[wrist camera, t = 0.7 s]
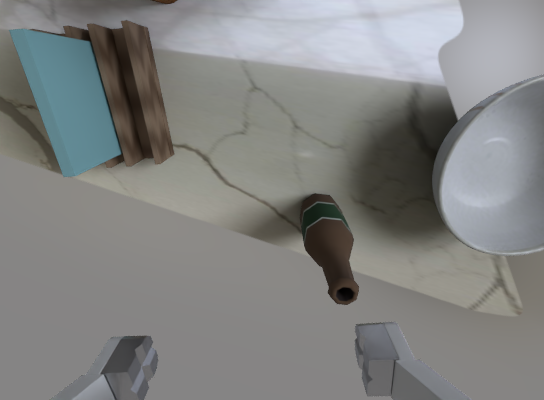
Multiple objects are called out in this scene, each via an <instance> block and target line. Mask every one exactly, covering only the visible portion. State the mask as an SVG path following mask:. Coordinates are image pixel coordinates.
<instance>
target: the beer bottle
mask: <svg viewBox="0 0 544 400" xmlns="http://www.w3.org/2000/svg"><path fill="white" fill-rule="evenodd" d="M300 222H301V228H302V235H303V241H304V246H305V249H306V251H307V253H308V254H309V255H310V256H311V257H312V258H313V259H314V261H315V262H316V263H317V264H318V265H319V266H321V267H322V268H323V271H324V274H325V277H326V280H327V283H328V286H329V290H328V294H329V295H330V297H331V298H332V299H333V300H334V301H335V302H336V303H337V304H344V305H348V304H350V303H351V302H353V301H355V300H356V299H357V296H358V292H359V286H358V285H357V283H356V282H355V281H354V278H353V274H352V271H351V267H350V263H349V258H350V254H351V250H352V246H353V241H354V238H353V235H352V233H351V230H350V228H349V226H348V224H347V222H346V220H345V218H344V216H343V214H342V211H341V209H340V208H339V206H338V205H337V204H336V202H335V201H334V200H333V199H332V197H331V196H330V195H323V194H314V195H312V196H311V197H309V198H308V199H306V200H305V201H304V202H302V208H301V214H300Z"/></svg>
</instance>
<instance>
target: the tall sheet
mask: <svg viewBox="0 0 544 400" xmlns="http://www.w3.org/2000/svg"><path fill="white" fill-rule="evenodd" d="M9 31H10V34H11V36H12V39H13V42H14V44H15V47H16V50H17V53H18V55H19V58H20V61H21V63H22V66H23V69H24V71H25V74H26V77H27V79H28V82H29V85H30V88H31V90H32V93H33V96H34V98H35V101H36V104H37V106H38V109H39V112H40V114H41V117H42V120H43V123H44V125H45V128H46V131H47V133H48V136H49V139H50V141H51V144H52V147H53V149H54V152H55V155H56V157H57V160H58V163H59V166H60V168H61V171H62V174H63V176H64V177H70V176H77V175H79V174H81V173H83V172H85V171H87V170H89V169H91V168H93V167H95V166H97V165H99V164H101V163H104V162H106V161H108V160H110V159H112V158H114V157H116V156H118V155H120V154H122V153H123V152H122V149H121V145H120V141H119V138H118V134H117V131H116V127H115V124H114V120H113V116H112V113H111V109H110V106H109V102H108V98H107V95H106V91H105V88H104V84H103V81H102V77H101V73H100V70H99V66H98V63H97V59H96V56H95V52H94V48H93V45H92V42H89V41H84V40H79V39H74V38H68V37H63V36H58V35H53V34H48V33H43V32H37V31H32V30H27V29H15V30H9Z"/></svg>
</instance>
